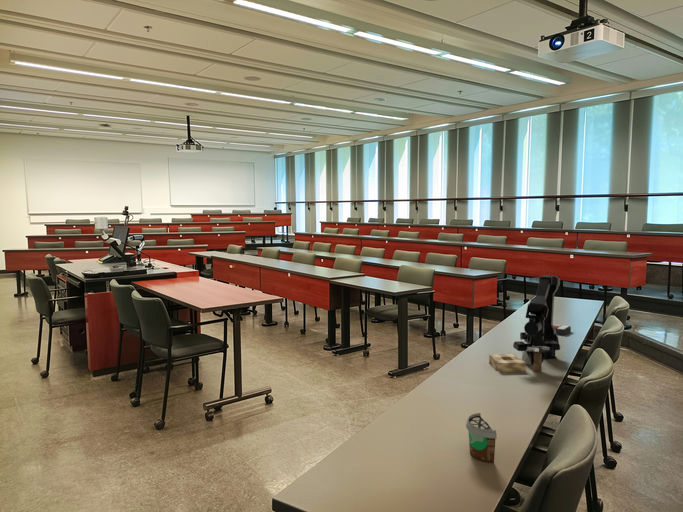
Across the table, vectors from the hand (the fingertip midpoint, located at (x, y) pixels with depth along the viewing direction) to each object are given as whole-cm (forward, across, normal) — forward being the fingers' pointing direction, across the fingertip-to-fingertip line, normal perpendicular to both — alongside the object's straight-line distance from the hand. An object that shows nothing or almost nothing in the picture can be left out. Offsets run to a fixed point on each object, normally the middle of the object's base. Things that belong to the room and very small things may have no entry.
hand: (535, 364), depth 204 cm
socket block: (+2, +11, -5) cm, 12 cm away
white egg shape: (+3, -1, -10) cm, 10 cm away
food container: (+3, +49, +69) cm, 84 cm away
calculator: (+3, -40, -63) cm, 75 cm away
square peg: (+2, 0, 0) cm, 2 cm away
